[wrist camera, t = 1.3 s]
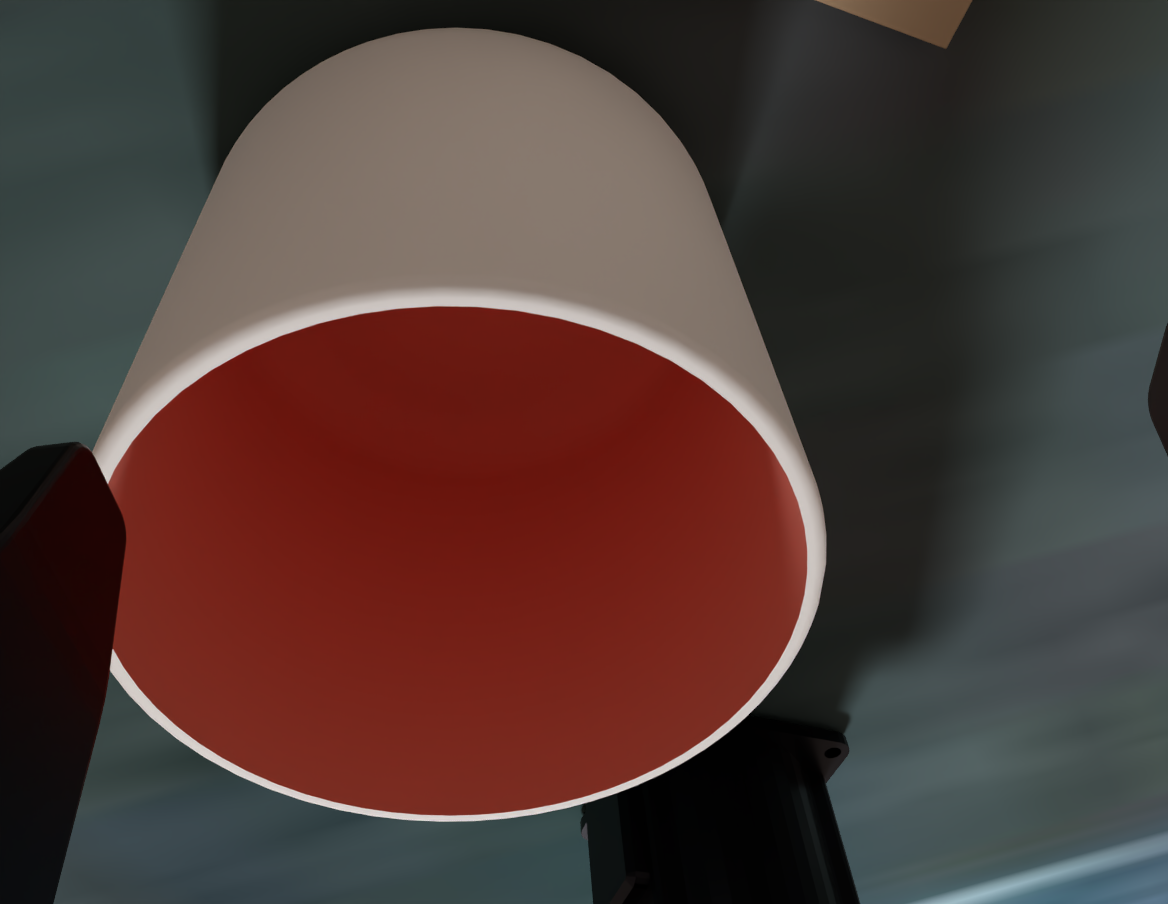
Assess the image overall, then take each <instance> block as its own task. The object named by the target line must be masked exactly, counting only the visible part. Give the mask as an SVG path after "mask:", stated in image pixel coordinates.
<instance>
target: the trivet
mask: <svg viewBox="0 0 1168 904" xmlns="http://www.w3.org/2000/svg"><path fill="white" fill-rule="evenodd" d="M816 1H819V2H822V3H824V4H827V5H830V6H832V7H835V8H838V9H840V10H843V11H846V12H848V13H851V14H854V15H856V16H859V17H862V18H864V19H867V20H870V21H873V22H875V23H878V24H881V25H883V26H886V27H889V28H891V29H894V30H897V31H899V32H902V33H905V34H907V35H910V36H913V37H915V38H918V39H921V40H923V41H926V42H929V43H931V44H934V45H937V46H940V47H942V48H945V49H946V48H947V46H948V44H949V43H950V41H951V39H952V37H953V35H954V33H955V31H956V30H957V28H958V26H959V24H960V22H961V20H962V18H963V17H964V15H965V13H966V11H967V9H968V7H969V5H970V4H971V2H972V0H816Z"/></svg>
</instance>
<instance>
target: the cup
mask: <svg viewBox="0 0 1168 904" xmlns="http://www.w3.org/2000/svg"><path fill="white" fill-rule="evenodd" d="M92 453H93V455H94V457H95V458H96V460H97V463H98V465H99V467H100V469H101V471H102V473H103V475H104V477H105V479H106V481H107V483H108V485H109V487H110V490H111V492H112V494H113V496H114V498H115V500H116V502H117V504H118V506H119V508H120V510H121V513H122V515H123V518H124V522H125V527H126V549H125V557H124V565H123V573H122V580H121V588H120V596H119V603H118V611H117V619H116V627H115V634H114V642H113V650H112V657H111V665H110V671H111V673H112V674H113V675H114V676H115V678H116V679H117V680H118V682H119V683H120V684H121V685H122V687H123V688H124V689H125V690H126V692H127V693H128V694H129V695H130V696H131V697H132V698H133V699H134V700H135V702H136V703H137V704H138V705H139V706H140V707H141V708H142V709H143V710H144V711H145V712H146V713H147V714H148V715H149V716H150V717H151V718H152V719H154V720H155V721H156V722H157V723H158V724H160V725H161V726H162V727H163V728H164V729H166V730H167V731H168V732H169V733H171V734H172V735H173V736H174V737H175V738H177V739H178V740H180V741H181V742H183V743H184V744H186V745H187V746H189V747H190V748H192V749H193V750H195V751H196V752H197V753H199V754H200V755H202V756H203V757H205V758H207V759H209V760H210V761H212V762H214V763H216V764H218V765H220V766H221V767H223V768H225V769H227V770H229V771H231V772H233V773H234V774H236V775H238V776H241V777H243V778H245V779H248V780H250V781H252V782H254V783H257V784H259V785H261V786H264V787H266V788H268V789H271V790H274V791H277V792H280V793H282V794H285V795H288V796H291V797H294V798H297V799H300V800H303V801H307V802H310V803H314V804H318V805H322V806H326V807H330V808H334V809H337V810H343V811H348V812H354V813H359V814H365V815H370V816H377V817H386V818H395V819H404V820H420V821H480V820H492V819H505V818H512V817H519V816H527V815H534V814H539V813H544V812H549V811H554V810H559V809H564V808H568V807H572V806H576V805H580V804H583V803H587V802H591V801H594V800H597V799H600V798H603V797H606V796H610V795H613V794H616V793H618V792H621V791H623V790H626V789H629V788H631V787H634V786H636V785H639V784H641V783H643V782H645V781H648V780H650V779H652V778H654V777H656V776H659V775H661V774H663V773H665V772H667V771H668V770H670V769H672V768H674V767H676V766H678V765H680V764H682V763H684V762H685V761H687V760H688V759H690V758H692V757H693V756H695V755H697V754H698V753H700V752H701V751H703V750H705V749H706V748H707V747H709V746H710V745H712V744H713V743H714V742H716V741H717V740H719V739H720V738H721V737H723V736H724V735H725V734H727V733H728V732H729V731H730V730H731V729H733V728H734V727H735V726H736V725H737V724H739V723H740V722H741V721H742V720H743V719H744V718H746V717H747V716H748V715H749V714H750V713H751V712H752V711H753V710H754V709H755V708H756V707H757V706H758V705H759V704H760V703H761V702H762V701H763V699H764V698H765V697H766V696H767V695H768V694H769V692H770V691H771V690H772V689H773V688H774V687H775V686H776V684H777V683H778V682H779V680H780V679H781V677H782V676H783V675H784V673H785V672H786V671H787V669H788V668H789V666H790V665H791V663H792V662H793V660H794V658H795V656H796V655H797V653H798V651H799V650H800V648H801V646H802V644H803V642H804V640H805V638H806V636H807V634H808V631H809V629H810V627H811V625H812V622H813V619H814V616H815V613H816V610H817V607H818V605H819V599H820V594H821V589H822V584H823V578H824V573H825V567H826V527H825V519H824V511H823V506H822V502H821V498H820V494H819V490H818V486H817V483H816V481H815V478H814V475H813V473H812V470H811V467H810V464H809V462H808V459H807V456H806V454H805V451H804V448H803V446H802V443H801V440H800V438H799V435H798V432H797V430H796V427H795V424H794V422H793V419H792V416H791V414H790V411H789V408H788V405H787V403H786V400H785V397H784V395H783V392H782V389H781V387H780V384H779V381H778V379H777V376H776V373H775V371H774V368H773V365H772V363H771V360H770V357H769V354H768V352H767V349H766V346H765V344H764V341H763V338H762V336H761V333H760V330H759V328H758V325H757V322H756V320H755V317H754V314H753V312H752V309H751V306H750V304H749V301H748V298H747V296H746V293H745V290H744V288H743V285H742V282H741V280H740V277H739V274H738V272H737V269H736V266H735V264H734V261H733V258H732V256H731V253H730V250H729V248H728V245H727V242H726V239H725V237H724V234H723V231H722V229H721V226H720V223H719V221H718V218H717V215H716V213H715V210H714V207H713V205H712V202H711V200H710V197H709V194H708V192H707V189H706V187H705V184H704V182H703V179H702V177H701V175H700V173H699V171H698V169H697V167H696V165H695V164H694V162H693V160H692V159H691V157H690V155H689V154H688V152H687V151H686V149H685V147H684V146H683V144H682V143H681V141H680V140H679V138H678V137H677V136H676V135H675V133H674V132H673V131H672V130H671V129H670V127H669V126H668V125H667V124H666V122H665V121H664V120H663V119H662V117H661V116H660V115H659V114H658V113H657V112H656V111H655V110H654V109H653V108H652V107H651V106H650V105H649V104H648V103H647V102H646V101H644V100H643V99H642V98H641V97H640V96H639V95H638V94H637V93H636V92H635V91H633V90H632V89H631V88H629V87H628V86H627V85H625V84H624V83H623V82H621V81H620V80H618V79H617V78H616V77H614V76H613V75H612V74H610V73H609V72H607V71H605V70H604V69H602V68H600V67H598V66H597V65H595V64H593V63H591V62H590V61H588V60H586V59H584V58H582V57H581V56H578V55H576V54H574V53H571V52H569V51H566V50H564V49H562V48H559V47H557V46H555V45H552V44H550V43H546V42H543V41H539V40H536V39H532V38H529V37H525V36H522V35H518V34H512V33H506V32H500V31H494V30H488V29H472V28H438V29H424V30H417V31H411V32H405V33H398V34H394V35H390V36H387V37H383V38H379V39H376V40H372V41H368V42H366V43H363V44H360V45H358V46H355V47H352V48H350V49H347V50H345V51H343V52H341V53H339V54H337V55H335V56H333V57H331V58H329V59H327V60H325V61H323V62H321V63H319V64H318V65H316V66H314V67H313V68H311V69H310V70H308V71H306V72H305V73H303V74H302V75H300V76H299V77H298V78H296V79H295V80H294V81H292V82H291V83H290V84H288V85H287V86H286V87H284V88H283V89H282V90H281V91H280V92H279V93H278V94H277V95H276V96H274V97H273V98H272V99H271V100H270V101H269V102H268V103H267V104H266V105H265V106H264V107H263V108H262V109H261V110H260V112H259V113H258V114H257V115H256V116H255V117H254V118H253V119H252V121H251V122H250V123H249V124H248V125H247V127H246V128H245V130H244V131H243V133H242V134H241V135H240V137H239V138H238V140H237V141H236V142H235V144H234V146H233V148H232V149H231V151H230V153H229V155H228V156H227V158H226V160H225V161H224V164H223V166H222V168H221V170H220V172H219V175H218V177H217V179H216V181H215V183H214V185H213V188H212V190H211V192H210V194H209V196H208V199H207V201H206V203H205V205H204V207H203V210H202V212H201V214H200V216H199V218H198V221H197V223H196V225H195V227H194V229H193V231H192V234H191V236H190V238H189V240H188V242H187V245H186V247H185V249H184V251H183V253H182V256H181V258H180V260H179V262H178V264H177V267H176V269H175V271H174V273H173V275H172V277H171V280H170V282H169V284H168V286H167V288H166V291H165V293H164V295H163V297H162V299H161V302H160V304H159V306H158V308H157V310H156V313H155V315H154V317H153V319H152V321H151V324H150V326H149V328H148V330H147V333H146V335H145V337H144V339H143V341H142V344H141V346H140V348H139V350H138V352H137V355H136V357H135V359H134V361H133V363H132V366H131V368H130V370H129V372H128V374H127V377H126V379H125V381H124V383H123V385H122V388H121V390H120V392H119V394H118V396H117V399H116V401H115V403H114V405H113V407H112V410H111V412H110V414H109V416H108V418H107V421H106V423H105V425H104V427H103V429H102V432H101V434H100V436H99V438H98V440H97V443H96V445H95V447H94V449H93V452H92Z"/></svg>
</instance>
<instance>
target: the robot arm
mask: <svg viewBox="0 0 1168 904" xmlns="http://www.w3.org/2000/svg"><path fill="white" fill-rule="evenodd" d="M1148 406H1149V412H1150V416H1151V419H1152V422H1153V424H1154V426H1155V428H1156V431H1157V433H1158V435H1159V437H1160V440H1161V442H1162V444H1163V446H1164V449H1165V451H1166V453H1167V455H1168V324H1167V326H1166V329H1165V333H1164V336H1163V340H1162V343H1161V347H1160V351H1159V354H1158V358H1157V361H1156V365H1155V369H1154V372H1153V376H1152V379H1151V383H1150V387H1149V393H1148ZM125 549H126V527H125V522H124V518H123V515H122V513H121V510H120V508H119V506H118V504H117V502H116V500H115V498H114V496H113V494H112V492H111V490H110V487H109V485H108V483H107V481H106V479H105V477H104V475H103V473H102V471H101V469H100V467H99V465H98V463H97V460H96V458H95V457H94V455H93V453H92V452H91V450H90V449H89V448H88V447H87V446H85V445H83V444H81V443H79V442H69V443H60V444H52V445H43V446H36V447H33V448H30V449H28V450H27V451H25V452H24V453H22V454H21V455H20V456H18V457H17V458H16V459H14V460H13V461H11V462H10V463H9V464H7V465H6V466H5V467H3V468H2V469H1V470H0V904H53V902H54V898H55V895H56V891H57V887H58V883H59V879H60V875H61V871H62V867H63V863H64V860H65V856H66V852H67V848H68V844H69V840H70V836H71V832H72V829H73V825H74V821H75V817H76V813H77V809H78V805H79V801H80V798H81V794H82V790H83V786H84V782H85V778H86V774H87V770H88V767H89V763H90V759H91V755H92V751H93V747H94V743H95V739H96V736H97V732H98V728H99V724H100V719H101V715H102V711H103V706H104V702H105V697H106V691H107V685H108V679H109V673H110V665H111V657H112V650H113V642H114V634H115V627H116V619H117V611H118V603H119V596H120V588H121V580H122V573H123V565H124V557H125ZM848 753H849V747H848V743H847V740H846V737H845V736H844V735H843V734H842V733H840V732H836V731H831V730H825V729H819V728H814V727H808V726H803V725H797V724H792V723H786V722H780V721H775V720H769V719H764V718H758V717H753V716H747V717H746V718H744V719H743V720H742V721H741V722H740V723H739V724H737V725H736V726H735V727H734V728H733V729H731V730H730V731H729V732H728V733H727V734H725V735H724V736H723V737H721V738H720V739H719V740H717V741H716V742H714V743H713V744H712V745H710V746H709V747H707V748H706V749H705V750H703V751H701V752H700V753H698V754H697V755H695V756H693V757H692V758H690V759H688V760H687V761H685V762H684V763H682V764H680V765H678V766H676V767H674V768H672V769H670V770H668V771H667V772H665V773H663V774H661V775H659V776H656V777H654V778H652V779H650V780H648V781H645V782H643V783H641V784H639V785H636V786H634V787H631V788H629V789H626V790H623V791H621V792H618V793H616V794H613V795H610V796H606V797H603V798H600V799H597V800H594V801H591V802H587V803H586V805H585V810H586V812H585V813H584V815H583V817H582V818H581V822H580V824H581V834H582V837H583V838H585V839H586V840H588V846H589V858H590V870H591V882H592V894H593V904H860V901H859V898H858V894H857V891H856V887H855V884H854V880H853V877H852V873H851V870H850V866H849V863H848V859H847V856H846V852H845V849H844V845H843V842H842V838H841V835H840V831H839V828H838V824H837V821H836V817H835V814H834V810H833V807H832V804H831V800H830V797H829V793H828V790H827V786H826V783H827V781H828V780H829V779H830V777H831V776H832V775H833V774H834V772H835V771H836V770H837V768H838V767H839V766H840V765H841V763H842V762H843V761H844V759H845V758H846V757H847V756H848Z"/></svg>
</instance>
